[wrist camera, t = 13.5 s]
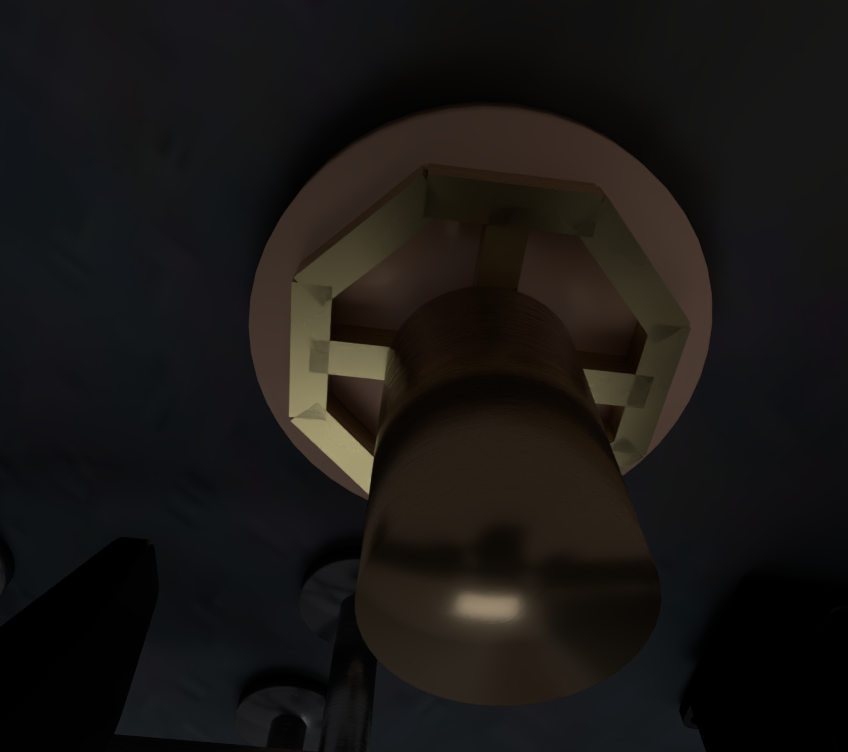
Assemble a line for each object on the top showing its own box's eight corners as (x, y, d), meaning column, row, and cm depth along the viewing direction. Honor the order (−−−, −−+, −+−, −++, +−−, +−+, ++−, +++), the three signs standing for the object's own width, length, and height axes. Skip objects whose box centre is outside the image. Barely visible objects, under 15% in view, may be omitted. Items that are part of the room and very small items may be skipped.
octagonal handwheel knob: (716, 198, 13) (951, 388, 7) (611, 511, 17) (704, 801, 11) (302, 147, 13) (180, 301, 7) (293, 478, 17) (213, 759, 11)
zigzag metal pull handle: (429, 554, 19) (427, 760, 14) (397, 749, 24) (387, 953, 19) (-133, 500, 19) (-344, 694, 14) (-50, 711, 24) (-183, 913, 19)
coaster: (764, 134, 14) (786, 145, 13) (629, 514, 19) (638, 541, 18) (257, 70, 13) (244, 77, 12) (260, 477, 18) (251, 502, 17)
